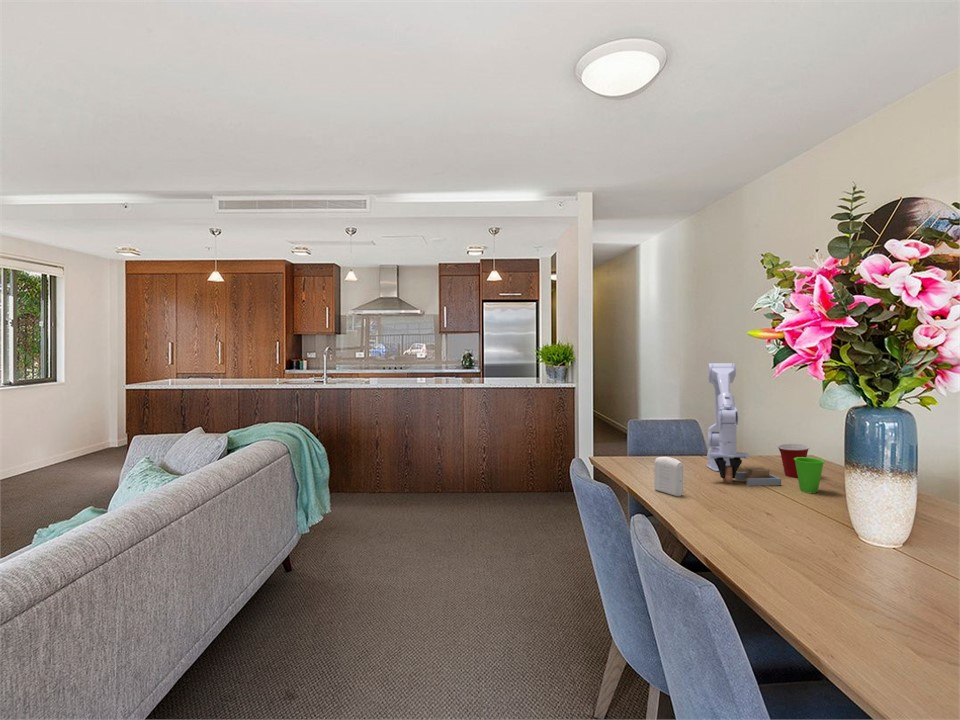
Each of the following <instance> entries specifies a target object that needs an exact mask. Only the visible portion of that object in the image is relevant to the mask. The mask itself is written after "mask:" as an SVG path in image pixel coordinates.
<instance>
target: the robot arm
mask: <svg viewBox="0 0 960 720" xmlns="http://www.w3.org/2000/svg"><path fill="white" fill-rule="evenodd" d="M736 366H737V365H736V364H735V362H732V363H730V362H728V363H727V362H725V363H724V362H719V363H718V362H713V363H712V362H709V363H708V366H707V375H708V376H707V377H708V378H707V379H708V383H709V384H712V385H713V387H714V423H713V424H711V425H710V426H708V429H707V436H706V438H707V445H708V446H709V449H708V451H707V454H706V455H707V456H706V458H707V464H705V467H707V468H709V469H710V468H711V469H710V470H713V472H719V478H721V479H723V478H725V466H726V465H729V466H732V467H733V479H735V476H736V473H737V472H738V469H739V467H740V466H741V464H742V463H743V460H742V459H746V460H747V459H749V457H750V454H749V453H748V452H738V451H737V426H738V425H739V424H738V423H739V412H738V409H737V407H736V404H735V396H734V395H733V394H732V393H731V384H733V382H734V380H735V378H736V375H737V369H736Z"/></svg>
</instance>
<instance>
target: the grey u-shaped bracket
mask: <svg viewBox="0 0 960 720" xmlns="http://www.w3.org/2000/svg"><path fill="white" fill-rule="evenodd" d="M734 480H746V471H742V472H741V471H737V473H736V476H735V478H734ZM747 485H748V486H747ZM756 485H781V486H782V478H780V477H778V476H776V475H774V474H772V473H769V478H747V482H746V486H747V487H757V486H756Z"/></svg>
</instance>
